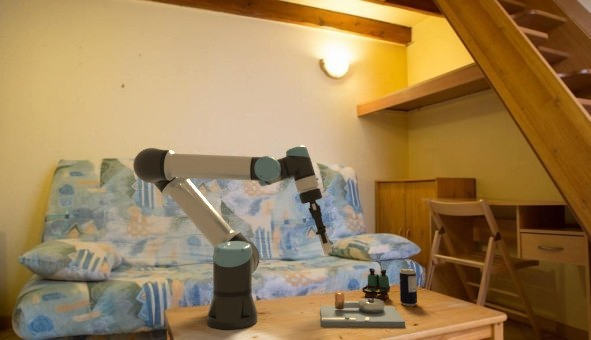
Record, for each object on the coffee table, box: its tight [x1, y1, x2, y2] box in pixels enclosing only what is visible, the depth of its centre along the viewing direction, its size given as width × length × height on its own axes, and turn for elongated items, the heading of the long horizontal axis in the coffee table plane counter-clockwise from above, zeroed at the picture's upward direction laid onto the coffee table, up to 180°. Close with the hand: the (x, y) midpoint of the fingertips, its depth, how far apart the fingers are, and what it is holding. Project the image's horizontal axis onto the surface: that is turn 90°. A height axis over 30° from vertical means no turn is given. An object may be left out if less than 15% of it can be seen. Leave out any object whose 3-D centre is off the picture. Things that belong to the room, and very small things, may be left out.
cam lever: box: [334, 291, 385, 313], centre depth 122 cm, size 16×8×5 cm, turn 88°
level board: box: [319, 305, 406, 328], centre depth 119 cm, size 24×16×2 cm, turn 88°
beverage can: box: [399, 267, 418, 307], centre depth 134 cm, size 6×6×12 cm
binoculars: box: [361, 267, 391, 302], centre depth 142 cm, size 9×11×10 cm
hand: (327, 250), depth 130 cm, fingers open, 13 cm apart
